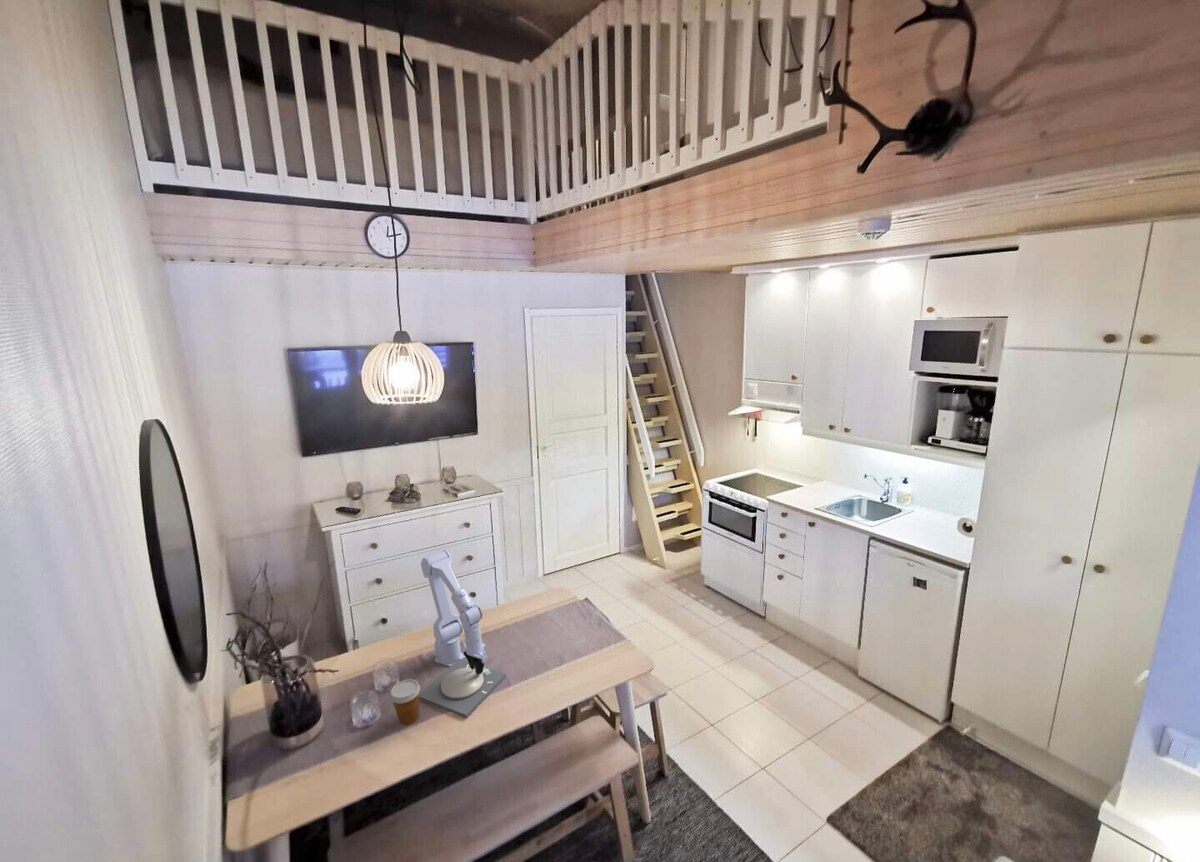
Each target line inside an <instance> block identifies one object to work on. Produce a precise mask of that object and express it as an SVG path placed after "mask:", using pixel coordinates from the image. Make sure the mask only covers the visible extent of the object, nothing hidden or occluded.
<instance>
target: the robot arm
mask: <svg viewBox="0 0 1200 862" xmlns="http://www.w3.org/2000/svg"><path fill="white" fill-rule="evenodd" d="M420 567H421V571H422V575H423V577H424V578H425V579H426V578H427V579H428V582H429V586H430V589H431V594H432V597H433V601H434V605H435V609H436V613H437V616H438V617H437V618H436V620H435V621H434V623H433V624H432V625H433V627H432V628H433V637H434V639H435V640H434V643H433V644H434V645H433V646H434V653H435V654H434V655H435V659H434V662H436V663H439V664H442V665H445V666H447V667H450V666H452V665H453V664H454V663H455V662H456V661H457V660H458V659H459V658H460V659H463V660H464V658H466V661H468V662H469V665H470V667H471V669H472V670H473V669H475V670H476V673H477V675H479V674H481V673H482V672H483V667H485V663H486V662H488V661H489V659H488V655H487V654H486V652H485V649H484V648H485V647H486V644H485V643H484V642H483V639H482V632H481V631H482V629H481V620H482V618H483V613H482V609H481V607H480V606H479V604H477V603H476V602H475V601H473V600H472V599H471V597H470V595H469V594H468V591H467V590H466V588H461V585H460V583H459V582H458V579H457V577H456V575H455V573H454V571H453V568H452V567H453V560H452V556H451V553H450V552H449V551H448V550H446V549H443V550H441V551H439V552H437V553H434V554H432V555H428V556H427V557H423V558H422V559H421V562H420ZM445 585H446V586H445ZM446 587H447V589H448V590H449V592H450V593H451V595H450V596H451V597H450V599H451V601H452V603H453V605H454V606H455V608H456V610H457V611H458V613H459V615H458V614H455V613H452V610H451V609H452V608H451V606H450V601H449V598H448V595H447V591H446ZM461 634H464V640H463V641H461V642H462V648H464V651H463V652H462V651H461V644H460V643H461V642H460V638H461ZM474 666H475V668H474Z"/></svg>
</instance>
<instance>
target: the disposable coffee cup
mask: <svg viewBox="0 0 1200 862" xmlns="http://www.w3.org/2000/svg"><path fill="white" fill-rule="evenodd" d="M420 691H421V686H420V684H419V683H418V681H417V680H415V679H412V678H411V679H409V678H408V679H403V680H401V681H399V682H397V683H396V684H394V685H393V687H392V688H391V690H390V694H389V698H390V700H391V701H392V703H393V706H394V710H395V712H396V715H397V719H398V722H399V724H400V725H401V726H404V727H405V726H406V727H407V726H411V725H413V724H415V723H416V722H417V721H418V720H419V717H420V700H419V694H420Z"/></svg>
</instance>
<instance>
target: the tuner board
mask: <svg viewBox="0 0 1200 862" xmlns="http://www.w3.org/2000/svg"><path fill="white" fill-rule="evenodd" d="M461 668H471V667H470V665H469V662H468V660H467V659H466V660H465V659H464V658H463V659H460V658H459V659H458V660H457V661H456V662H455V663H454V664H453V665H452V666H448V668H446V670H445V671H443V673H441V674H440V675H439V676H437V678H436V679H434V680H433V682H431V683H430V684H428V686H427V687H426V688H424V689H423V690H422V691H421V692H419V701H422V702H424V703H427V704H429V705H431V706H434V707H436V708H439V709H440V710H444V711H446V712H449V713H451V714H453V715H456V714H457V715H456V716H458V717H461V716H462V717H461V718H464V719H467V720H468V718H469V717H470V716H471V715H472V713H474V712H475V711H476V710H477V708H478V707H480V705H481V704H482V703H484V701H485V700H486V699H487V698H488V697H489V696H490V695H491V694H492V693H493V692H494V691H495V689H497V688H498V687H499V685H500V684H501V683H503V681H505V679H506V678H507V674H506V673H504V672H501V671H498V670H495V669H493V668H489V667H486V666H484V667H483V671H485V670H487V669H489V671H486V672H484V673H482V674H483V678H484V682H483V685H482V687H481V688H480V689H479V690H478V691H477V692H476V693H474V694H473V695H471V696H468V697H466V698H461V699H452V698H448V697H446V696H444V695H443V693H442V691H441V683H442V680H443V679H444V678H445V677H446V676H447V675H448V674H449V673H451V672H453V671H455V670H457V669H461Z"/></svg>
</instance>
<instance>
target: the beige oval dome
mask: <svg viewBox="0 0 1200 862" xmlns="http://www.w3.org/2000/svg"><path fill="white" fill-rule="evenodd" d="M474 668H475V666H474ZM486 671H489V669H487V670H485V671H483V672H482V673H484V672H486ZM482 673H481V674H479V675H477V673H476V670H475V669H473V670H472V669H471V668H461V669H457V670H455V671H453V672H451V673H449V674H448V675H447V676H446V677H445V678H444V679H443V680H442V683H441V691H442V693H443V695H444V696H446V697H448V698H452V699H461V698H466V697H468V696H471V695H473V694H474V693H476V692H477V691H478V690H479V689H480V688H481V687H482V685H483V682H484V678H483V674H482Z"/></svg>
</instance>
